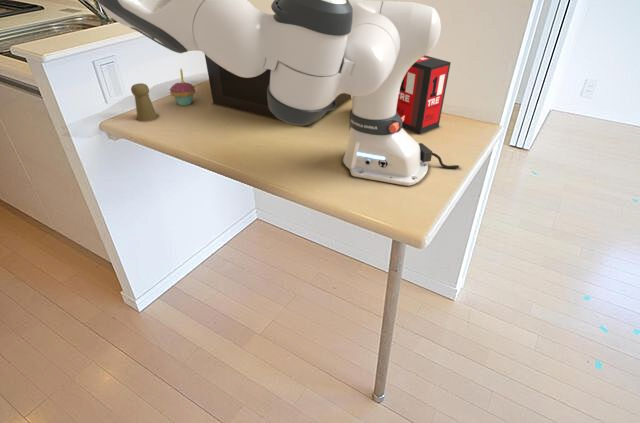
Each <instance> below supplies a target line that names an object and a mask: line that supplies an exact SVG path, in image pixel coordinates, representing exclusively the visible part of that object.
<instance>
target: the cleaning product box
mask: <svg viewBox="0 0 640 423" xmlns="http://www.w3.org/2000/svg"><path fill="white" fill-rule="evenodd" d="M451 63H452V62H451V61H448V60H443V59H441V58H437V57H433V56H429V55H427V54H426V55H425V56H423V57H422V58H420V59H419V60H417V61H416V62H415V63H414V64H413V65H412V66H411V67H410V69H409V70H408V71H407V73H406V75H405V76H404V78H403V81H402V83H401V87H400V91H399V96H398V102H397V109H396V111H397V113H398V115H399V116H400V117H401V118H402V117H403V116H405V117H404V121H403V122H402V128H404V129H407V130H409V131H412V132H414V133H417V134H419V135H422V134H424V133H427V132H429V131H432V130H434V129H437V128H439V127H440V121H441V117H442V111H443V105H444V102H445V101H444V100H445V96H446V90H447V86H448V85H447V84H448V78H449V74H450V68H451Z"/></svg>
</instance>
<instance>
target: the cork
mask: <svg viewBox="0 0 640 423" xmlns="http://www.w3.org/2000/svg"><path fill="white" fill-rule="evenodd" d="M130 91H131V94H132V96H134V102H135V110H136V116H137V117H136V118H137V120H138V121H140V122H149V121H152V120H155V119H157V117H158V115H157V113H156V110H155V108H154V105H153V103H152V100H151V97H150V95H149V93H150V88H149V86H148V85H147V84H146V83H142V82H141V83H140V82H139V83H135V84H132V86H131V88H130Z"/></svg>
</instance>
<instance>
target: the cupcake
mask: <svg viewBox="0 0 640 423" xmlns="http://www.w3.org/2000/svg"><path fill="white" fill-rule="evenodd" d="M179 72H180V79H181V82H176V83H174V84H173V85H172V86H171V87H170V89H169V93H170V96H171V97H173V98H174V99H175V100H176V102H177V104H178V105H179V106H188V105H191V104H192V102H193V96H194V95H195V94H196V88H195V86H194V85H193V84H192V83H189V82H185V80H184V73H183V69H180V70H179Z"/></svg>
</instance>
